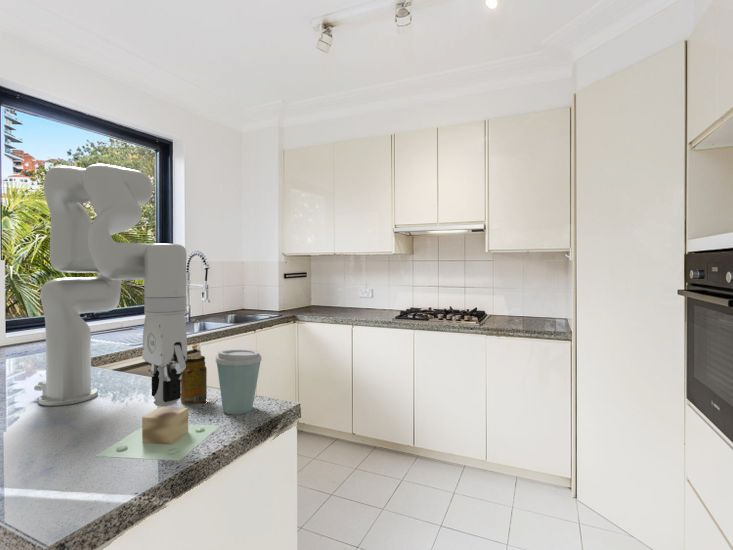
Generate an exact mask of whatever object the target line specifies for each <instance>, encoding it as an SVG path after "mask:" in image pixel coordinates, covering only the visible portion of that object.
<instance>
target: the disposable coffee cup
mask: <svg viewBox="0 0 733 550" xmlns="http://www.w3.org/2000/svg"><path fill="white" fill-rule="evenodd" d="M214 361H215V364H216V367H217V374H218V375H217V376H218V383H219V391H220V398H221V406H222V407H221V408H222V411H223V413H225V414H227V415H242V414H245V413H248V412H251V411H252V410H253V407H254V402H255V396H256V391H257V382H258V379H259V373H260V366H261V361H263V359H262V356H261V354H260V352H258V351H257V350H252V349H226V350H225V349H224V350H219V351H218V352H217V355H216V356H215V360H214Z"/></svg>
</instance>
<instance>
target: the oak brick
mask: <svg viewBox="0 0 733 550" xmlns="http://www.w3.org/2000/svg"><path fill="white" fill-rule="evenodd" d="M141 419H142V420H141V424H142V426H141V427H142V443H152V444H173V443H175V442H176V441H177V440H178V439H180V438H181V437H182V436H184V435H185V434H186V433H188V424H189V407H179V406H178V407H175V406H172V407H171V406H158V408H155V409H154V410H153V411H151V412H149V413H147V414H146V415H144V416H142V418H141Z"/></svg>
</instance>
